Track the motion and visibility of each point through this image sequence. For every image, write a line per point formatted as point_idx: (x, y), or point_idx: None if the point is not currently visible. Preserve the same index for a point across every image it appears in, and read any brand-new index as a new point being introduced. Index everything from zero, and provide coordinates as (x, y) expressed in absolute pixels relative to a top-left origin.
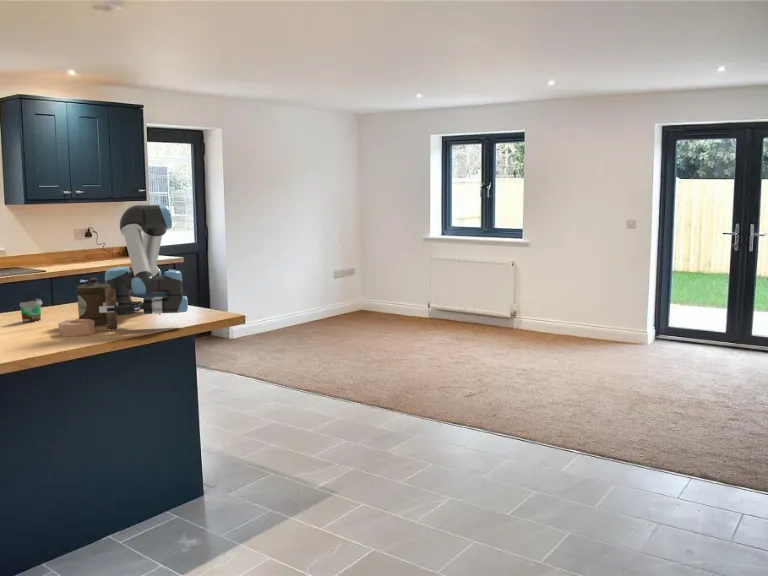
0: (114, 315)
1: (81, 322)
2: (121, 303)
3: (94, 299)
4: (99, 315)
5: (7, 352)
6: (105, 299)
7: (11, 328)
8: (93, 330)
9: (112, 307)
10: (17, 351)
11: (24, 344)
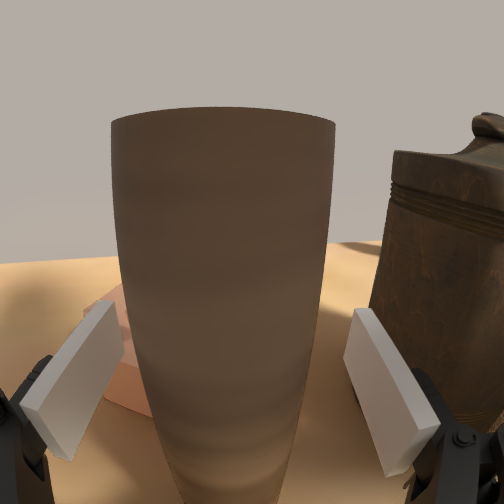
0: (180, 490)
1: (129, 326)
2: (431, 483)
3: (404, 250)
4: None
5: (21, 263)
6: (476, 292)
7: None
8: (148, 410)
9: (40, 397)
10: (14, 270)
11: (73, 273)
